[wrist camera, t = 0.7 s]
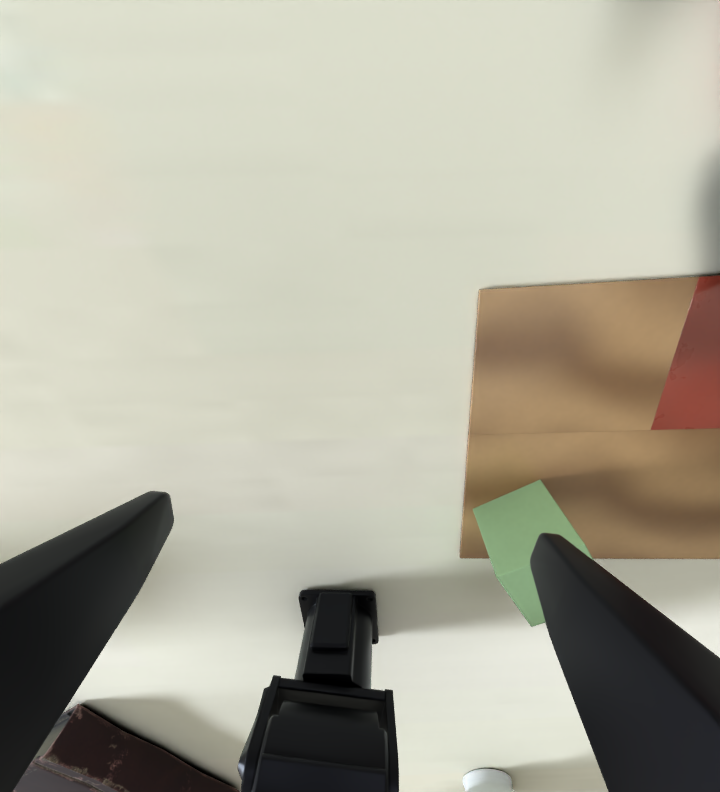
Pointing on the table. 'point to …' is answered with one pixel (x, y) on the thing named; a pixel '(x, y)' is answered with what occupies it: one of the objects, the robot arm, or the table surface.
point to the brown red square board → (602, 412)
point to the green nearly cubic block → (522, 540)
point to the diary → (107, 761)
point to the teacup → (487, 781)
